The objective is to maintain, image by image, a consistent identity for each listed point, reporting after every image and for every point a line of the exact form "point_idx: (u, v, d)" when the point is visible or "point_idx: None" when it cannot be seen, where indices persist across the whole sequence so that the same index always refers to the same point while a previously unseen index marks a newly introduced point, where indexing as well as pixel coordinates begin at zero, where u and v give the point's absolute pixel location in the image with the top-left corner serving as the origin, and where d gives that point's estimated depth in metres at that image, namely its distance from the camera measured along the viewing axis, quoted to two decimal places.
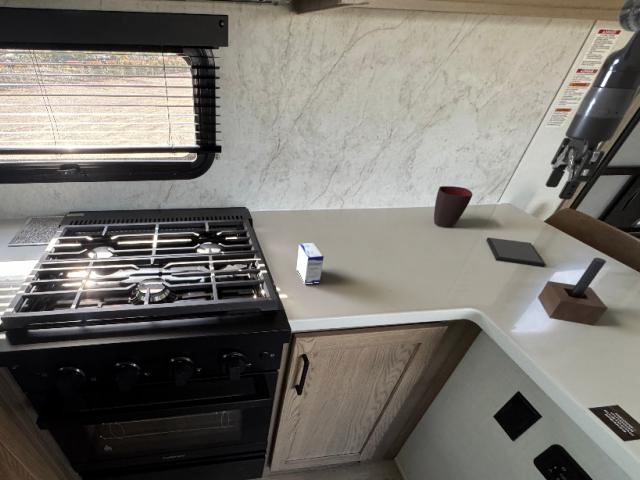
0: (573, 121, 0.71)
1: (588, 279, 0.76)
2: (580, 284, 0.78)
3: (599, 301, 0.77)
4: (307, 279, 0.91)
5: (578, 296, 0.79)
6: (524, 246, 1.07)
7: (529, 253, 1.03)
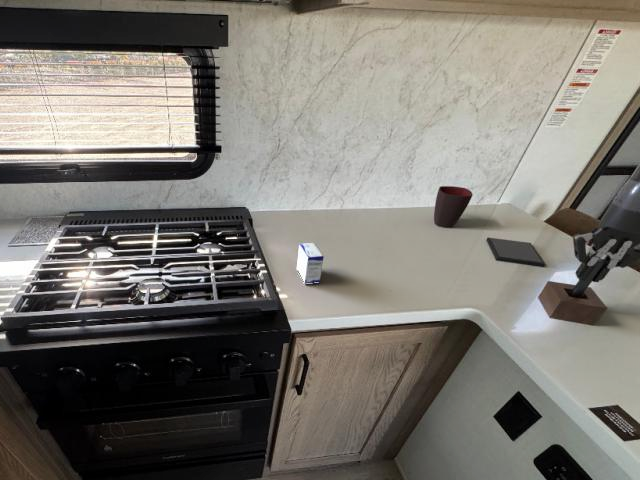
0: None
1: (588, 279, 0.76)
2: (580, 284, 0.78)
3: (599, 301, 0.77)
4: (307, 279, 0.91)
5: (578, 296, 0.79)
6: (524, 246, 1.07)
7: (529, 253, 1.03)
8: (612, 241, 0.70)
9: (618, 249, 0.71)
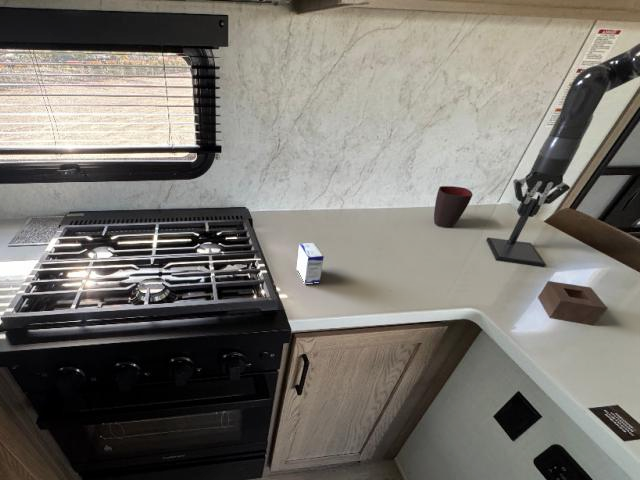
0: None
1: (525, 214, 1.02)
2: (521, 219, 1.03)
3: (599, 301, 0.77)
4: (307, 279, 0.91)
5: (519, 229, 1.05)
6: (524, 246, 1.07)
7: (529, 253, 1.03)
8: (539, 183, 0.96)
9: (544, 189, 0.97)
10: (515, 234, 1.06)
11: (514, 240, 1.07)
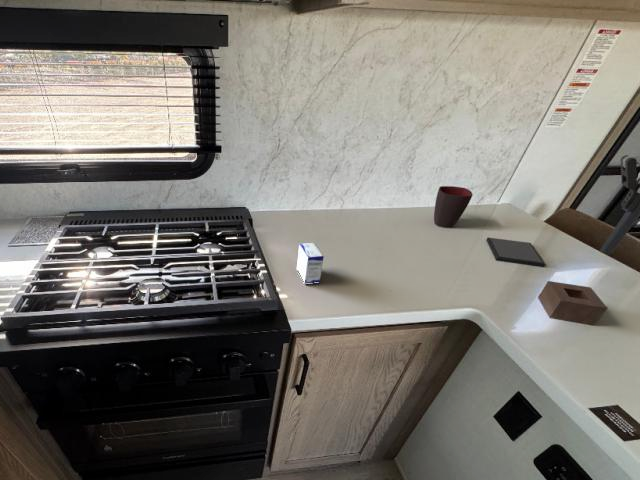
0: None
1: (637, 210, 0.67)
2: (627, 217, 0.68)
3: (599, 301, 0.77)
4: (307, 279, 0.91)
5: (624, 232, 0.69)
6: (524, 246, 1.07)
7: (529, 253, 1.03)
8: None
9: None
10: (615, 239, 0.71)
11: (612, 248, 0.72)
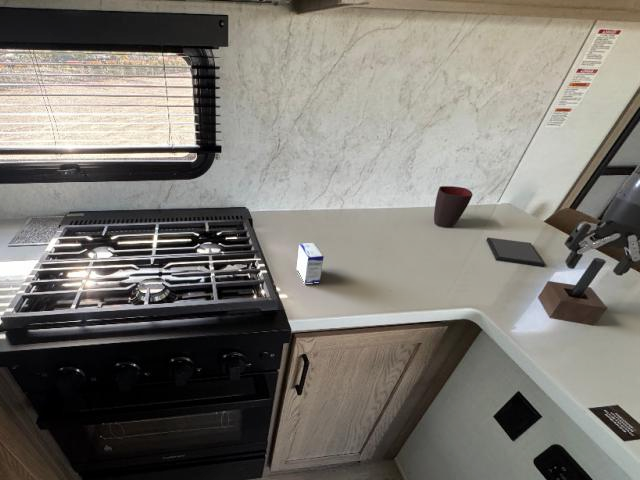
0: None
1: (588, 279, 0.76)
2: (580, 284, 0.78)
3: (599, 301, 0.77)
4: (307, 279, 0.91)
5: (578, 296, 0.79)
6: (524, 246, 1.07)
7: (529, 253, 1.03)
8: (616, 235, 0.69)
9: (628, 244, 0.70)
10: None
11: None
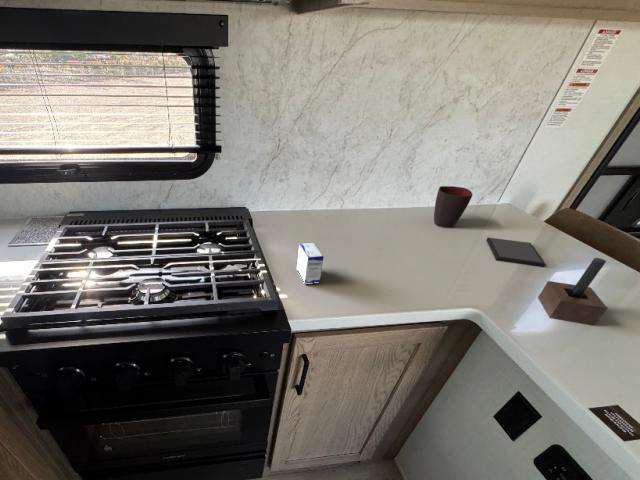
0: None
1: (588, 279, 0.76)
2: (580, 284, 0.78)
3: (599, 301, 0.77)
4: (307, 279, 0.91)
5: (578, 296, 0.79)
6: (524, 246, 1.07)
7: (529, 253, 1.03)
8: None
9: None
10: None
11: None
